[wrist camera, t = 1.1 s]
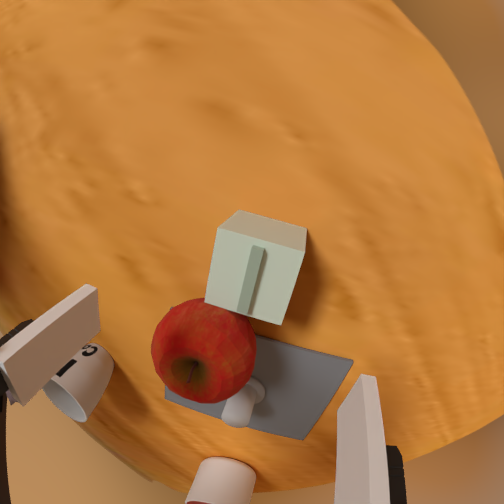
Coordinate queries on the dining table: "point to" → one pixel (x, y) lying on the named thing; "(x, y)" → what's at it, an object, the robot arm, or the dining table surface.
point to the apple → (204, 351)
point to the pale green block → (255, 265)
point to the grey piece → (279, 390)
